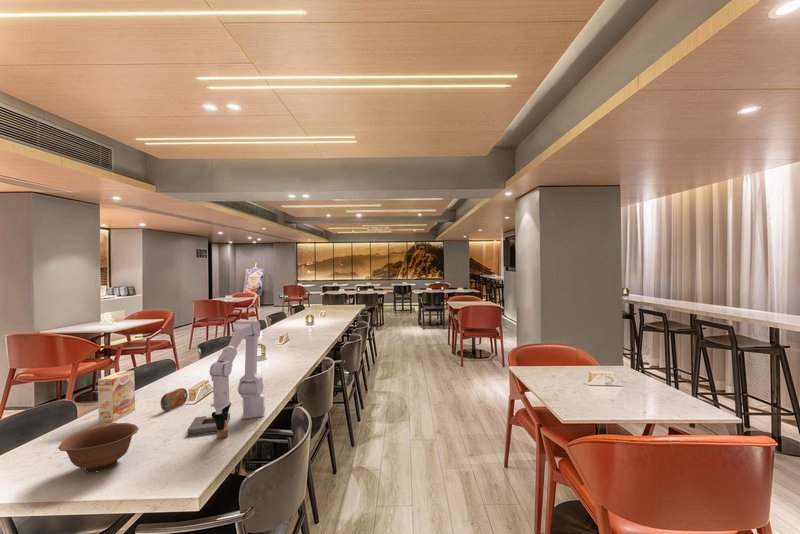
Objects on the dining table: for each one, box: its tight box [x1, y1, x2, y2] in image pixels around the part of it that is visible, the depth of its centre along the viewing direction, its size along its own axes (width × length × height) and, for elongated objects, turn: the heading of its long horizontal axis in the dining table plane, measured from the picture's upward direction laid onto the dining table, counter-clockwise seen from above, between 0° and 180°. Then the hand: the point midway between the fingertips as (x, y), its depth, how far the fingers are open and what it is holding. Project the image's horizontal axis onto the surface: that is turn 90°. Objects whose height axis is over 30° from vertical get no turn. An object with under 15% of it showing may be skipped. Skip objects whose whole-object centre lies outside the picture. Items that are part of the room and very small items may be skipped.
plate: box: [187, 412, 231, 437], centre depth 165 cm, size 14×14×3 cm
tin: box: [160, 387, 189, 412], centre depth 191 cm, size 15×3×8 cm, turn 168°
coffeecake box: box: [97, 370, 136, 423], centre depth 182 cm, size 15×7×20 cm, turn 0°
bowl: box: [57, 422, 140, 473], centre depth 134 cm, size 22×22×11 cm
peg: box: [216, 420, 229, 440], centre depth 155 cm, size 4×4×6 cm
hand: (222, 426), depth 155 cm, fingers open, 7 cm apart
